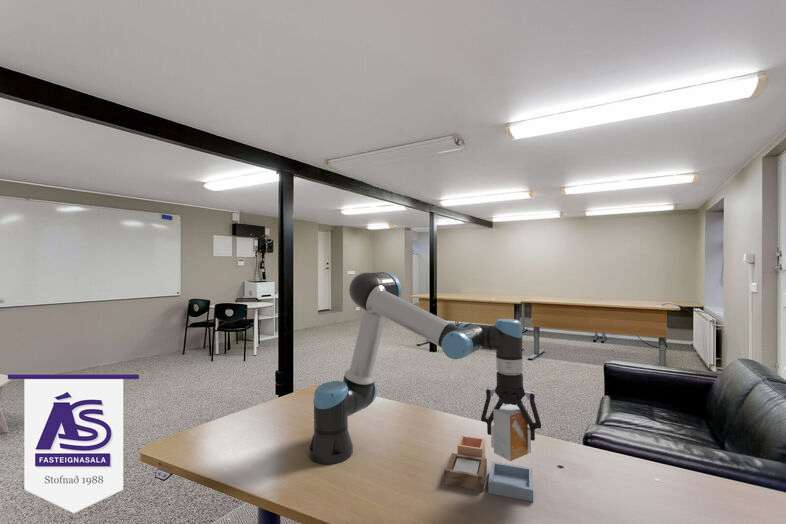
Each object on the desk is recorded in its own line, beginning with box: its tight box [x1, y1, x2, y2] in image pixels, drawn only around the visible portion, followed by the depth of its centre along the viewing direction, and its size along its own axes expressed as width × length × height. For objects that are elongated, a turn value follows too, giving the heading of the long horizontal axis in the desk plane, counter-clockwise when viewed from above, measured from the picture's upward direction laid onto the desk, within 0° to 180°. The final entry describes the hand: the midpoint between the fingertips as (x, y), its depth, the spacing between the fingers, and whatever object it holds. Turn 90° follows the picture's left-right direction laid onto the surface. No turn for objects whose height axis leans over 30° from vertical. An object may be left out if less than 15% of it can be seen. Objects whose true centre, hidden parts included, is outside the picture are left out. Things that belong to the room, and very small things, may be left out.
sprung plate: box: [453, 458, 480, 474], centre depth 113 cm, size 7×8×1 cm
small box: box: [492, 404, 529, 462], centre depth 109 cm, size 8×6×13 cm
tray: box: [487, 461, 534, 502], centre depth 109 cm, size 12×12×3 cm
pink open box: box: [456, 434, 486, 458], centre depth 124 cm, size 8×8×6 cm
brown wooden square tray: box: [444, 452, 488, 492], centre depth 113 cm, size 11×11×4 cm
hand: (510, 448), depth 109 cm, fingers closed on small box, 10 cm apart
